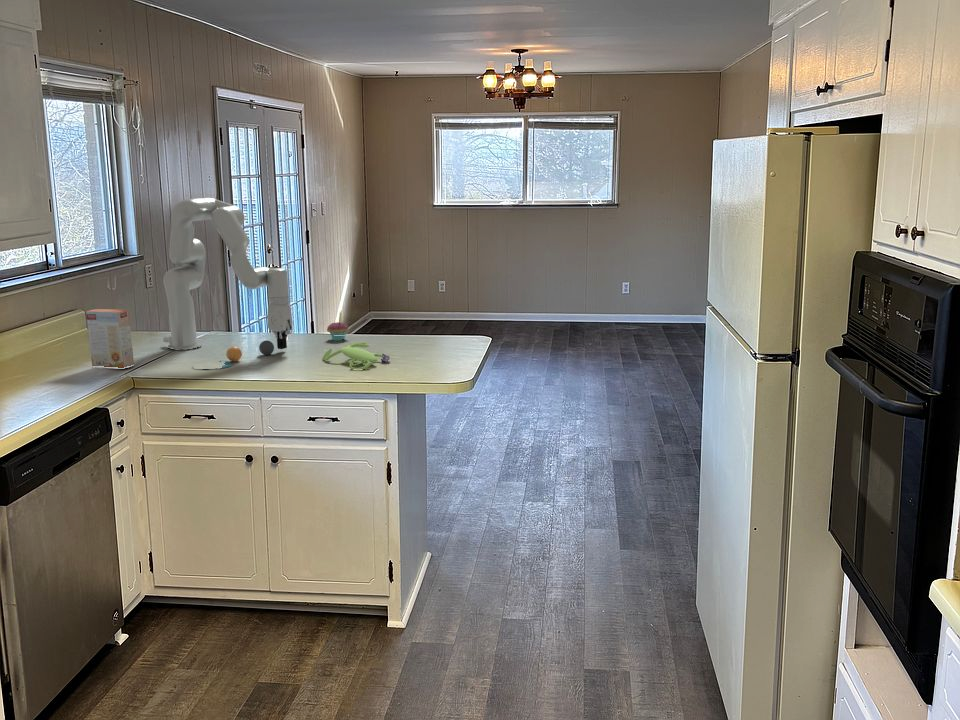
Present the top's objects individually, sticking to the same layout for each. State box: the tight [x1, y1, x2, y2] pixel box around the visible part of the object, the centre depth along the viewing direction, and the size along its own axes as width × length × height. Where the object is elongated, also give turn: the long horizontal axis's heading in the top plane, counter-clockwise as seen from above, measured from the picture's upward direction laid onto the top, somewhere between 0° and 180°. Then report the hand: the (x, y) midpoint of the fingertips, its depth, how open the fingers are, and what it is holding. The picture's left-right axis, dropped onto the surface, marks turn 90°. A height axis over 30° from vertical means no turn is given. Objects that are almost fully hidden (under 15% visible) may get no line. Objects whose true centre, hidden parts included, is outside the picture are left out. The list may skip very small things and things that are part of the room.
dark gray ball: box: [258, 340, 275, 356], centre depth 333 cm, size 6×6×6 cm
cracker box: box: [85, 308, 135, 368], centre depth 314 cm, size 14×6×21 cm, turn 71°
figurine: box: [321, 342, 391, 370], centre depth 319 cm, size 18×27×6 cm
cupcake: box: [326, 311, 349, 342], centre depth 359 cm, size 9×8×12 cm
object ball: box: [226, 346, 243, 363], centre depth 323 cm, size 6×6×6 cm
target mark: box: [222, 360, 234, 369], centre depth 317 cm, size 14×14×1 cm
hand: (282, 348), depth 338 cm, fingers closed
